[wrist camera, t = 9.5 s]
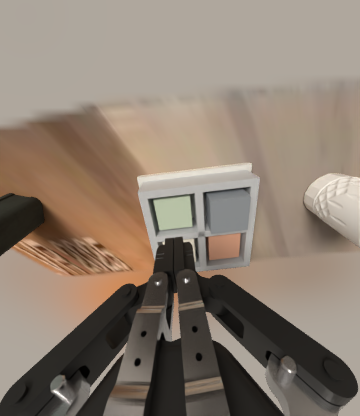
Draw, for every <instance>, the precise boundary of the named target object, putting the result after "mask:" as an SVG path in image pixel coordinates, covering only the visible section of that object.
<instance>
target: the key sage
mask: <svg viewBox="0 0 360 416" xmlns="http://www.w3.org/2000/svg"><path fill="white" fill-rule="evenodd" d="M153 201H154V206H155V211H156V216H157V220H158V225H159V230H167V229H176V228H184V227H193V226H192V215H191V204H190V195H189V194H184V195H175V196H167V197H158V198H154V200H153Z"/></svg>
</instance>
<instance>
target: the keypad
mask: <svg viewBox="0 0 360 416" xmlns="http://www.w3.org/2000/svg"><path fill="white" fill-rule="evenodd" d="M251 170H252V164H251V163H249V162H248V163H240V164H232V165H224V166H216V167H207V168H199V169H191V170H183V171H174V172H166V173H158V174H150V175H141V176H138V177H137V180H138V184H139V188H140V189H139V191H138V196H139V200H140V204H141V208H142V212H143V216H144V220H145V224H146V227H147V231H148V235H149V239H150V243H151V247H152V251H153V255H154V259H155V257H156V251H157V248H158V247H159V245H163V243H162V242H164V241H165V238H173V237H181V236H183V239H191V238H194V245H195V256H196V262H195V269H196V272H200V271H208V270H218V269H227V268H236V267H246V266H249V264H250V256H251V248H252V240H253V231H254V223H255V215H256V206H257V198H258V189H259V181H260V178H259V177H258V176H256V175H255V174H253V173H252V172H251ZM234 188H243V189H244V190H245V191H246V192H247V193H248V194H249V195H250V196H251V202H250V212H249V222H248V230H242V231H234V232H225V233H216V234H211V232H210V229H209V226H208V223H207V218H206V195H205V192H209V191H217V190H226V189H234ZM184 194H189V195H190V204H191V215H192V226H193V227H184V228H176V229H167V230H159V225H158V220H157V216H156V211H155V206H154V201H153V200H154V198H158V197H167V196H175V195H184ZM235 233H241V235H240V248H239V257H234V258H225V259H216V260H209V256H208V253H207V249H206V238H205V237H208V236H217V235H226V234H235Z"/></svg>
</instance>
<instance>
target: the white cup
mask: <svg viewBox="0 0 360 416" xmlns="http://www.w3.org/2000/svg"><path fill="white" fill-rule="evenodd" d="M304 204H305V206H306V208H307V209H309V210H310V211H311V212H313V213H314V214H316V215H317V216H318V217H319V218H320V219H321V220H323V221H324V222H325V223H327V224H328V225H329V226H330V227H332V228H333V229H334V230H336V231H337V232H338V233H340V234H341V235H343V236H344V237H345V238H347V239H348V240H350V241H351V242H352V243H354V244H355V245H356V246H358V247H359V248H360V178H358V177H351V176H347V175H344V174H340V173H329V174H326V175H324V176H322V177H319V178H318V179H317V180H315V181H314V182H313V183H312V184H311V185H310V186H309V187H308V189H307V191H306V192H305V195H304Z"/></svg>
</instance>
